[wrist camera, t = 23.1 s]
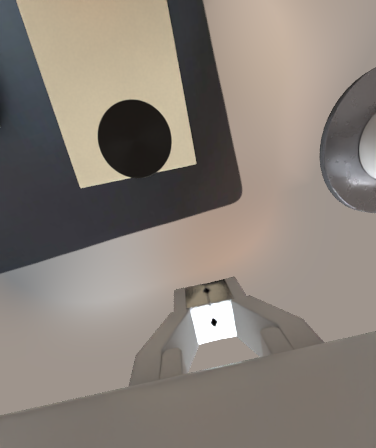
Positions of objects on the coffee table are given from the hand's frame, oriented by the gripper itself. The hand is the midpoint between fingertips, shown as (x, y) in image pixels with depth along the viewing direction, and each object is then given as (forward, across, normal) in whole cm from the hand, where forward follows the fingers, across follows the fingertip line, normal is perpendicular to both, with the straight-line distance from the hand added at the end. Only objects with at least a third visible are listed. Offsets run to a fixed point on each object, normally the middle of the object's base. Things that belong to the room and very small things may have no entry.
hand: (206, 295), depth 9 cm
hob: (+29, -7, +28) cm, 41 cm away
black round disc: (+29, -6, +14) cm, 33 cm away
